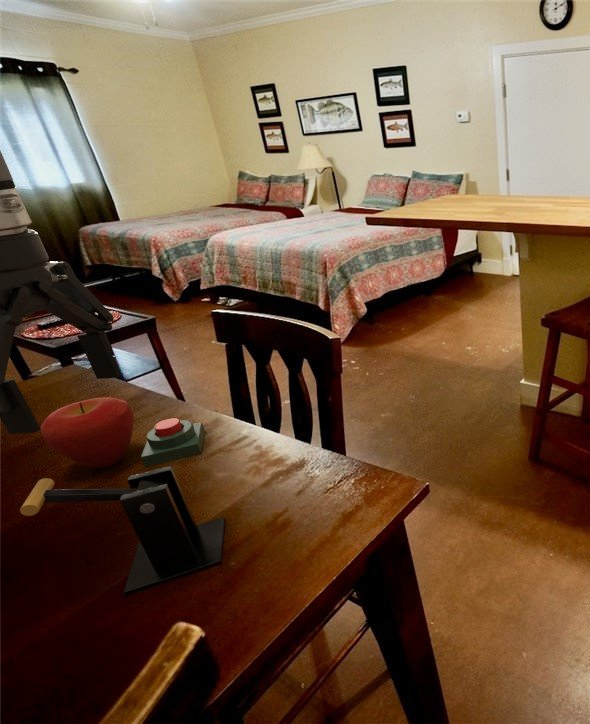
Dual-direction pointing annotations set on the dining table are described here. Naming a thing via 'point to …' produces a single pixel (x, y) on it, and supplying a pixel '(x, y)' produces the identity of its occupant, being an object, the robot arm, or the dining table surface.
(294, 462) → the dining table surface
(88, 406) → the apple
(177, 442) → the button box
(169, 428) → the button
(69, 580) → the dining table surface
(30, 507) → the lever
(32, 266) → the robot arm
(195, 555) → the bracket
